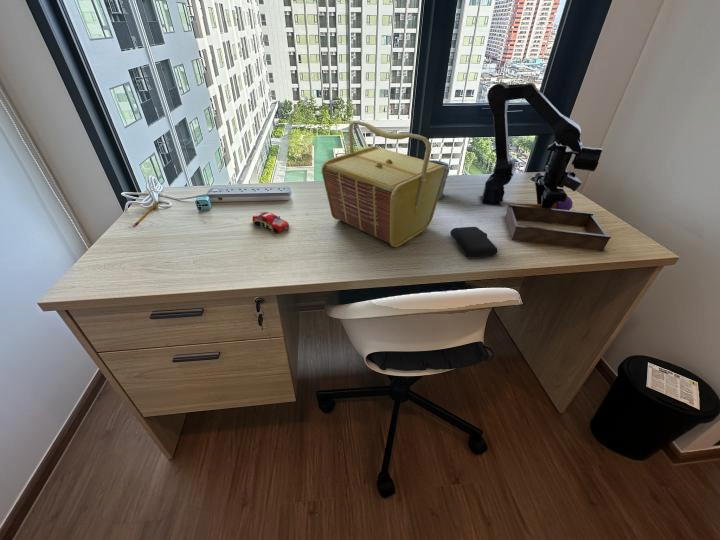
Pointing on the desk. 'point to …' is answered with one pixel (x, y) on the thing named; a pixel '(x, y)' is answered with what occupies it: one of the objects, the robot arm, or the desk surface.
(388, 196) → the picnic basket
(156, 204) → the pencil
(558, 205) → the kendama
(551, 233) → the wooden tray
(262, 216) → the race car
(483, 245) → the carrying case
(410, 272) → the desk surface
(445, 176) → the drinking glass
